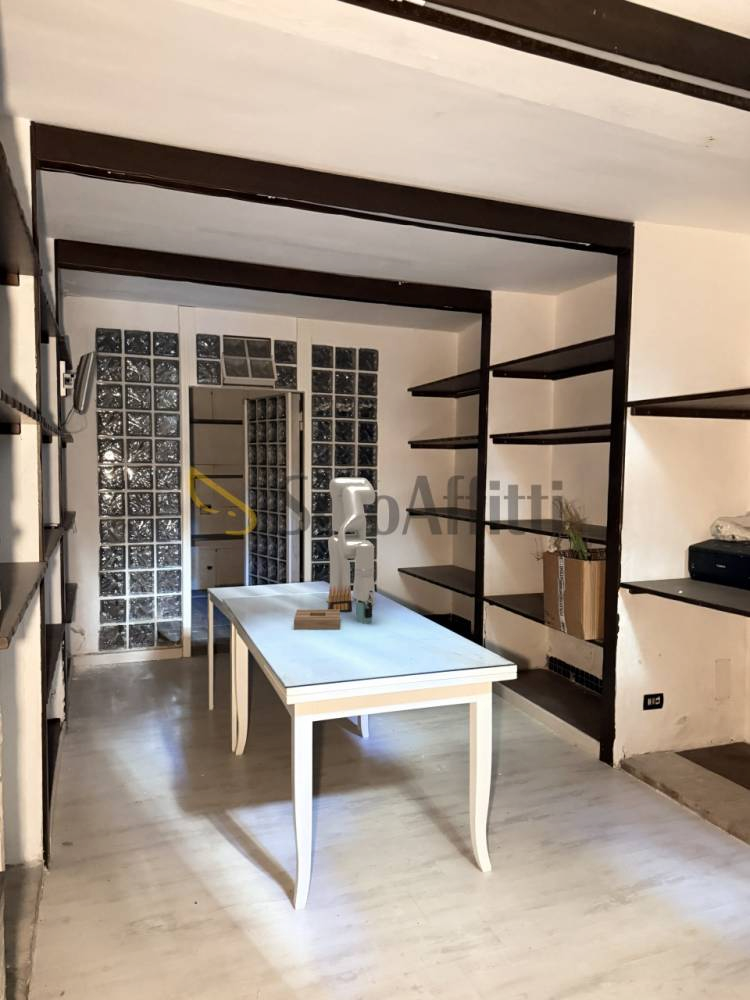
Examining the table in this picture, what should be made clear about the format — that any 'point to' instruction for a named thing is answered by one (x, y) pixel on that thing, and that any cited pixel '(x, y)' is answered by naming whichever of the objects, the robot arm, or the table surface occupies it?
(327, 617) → the socket block
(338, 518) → the robot arm
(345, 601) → the ammunition clip
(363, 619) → the peg
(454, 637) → the table surface
